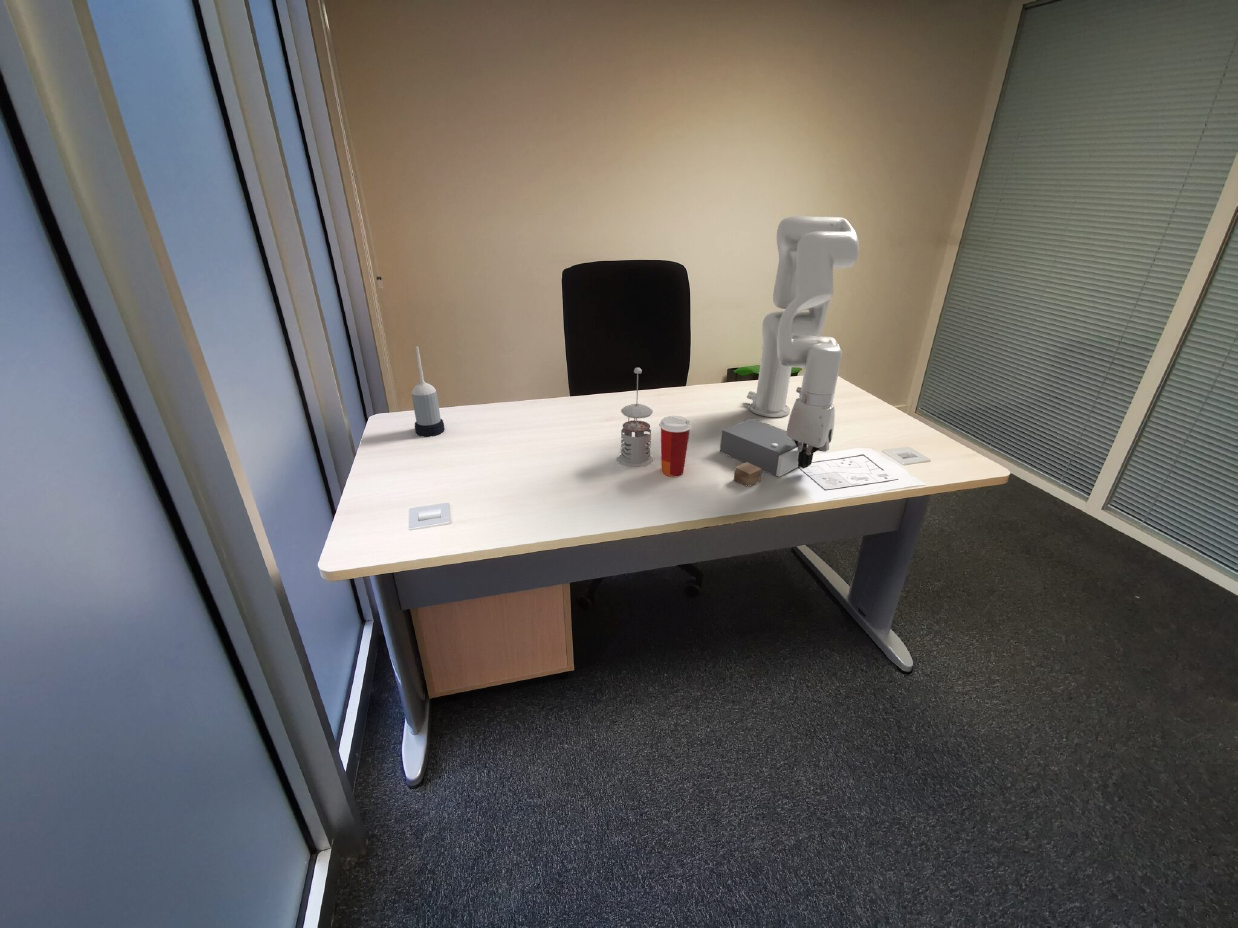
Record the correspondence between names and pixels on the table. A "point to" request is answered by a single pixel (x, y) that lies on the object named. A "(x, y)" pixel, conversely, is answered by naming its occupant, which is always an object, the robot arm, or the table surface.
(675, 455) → the paper cup
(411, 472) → the table surface
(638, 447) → the french press
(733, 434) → the player
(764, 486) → the table surface
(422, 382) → the grey bottle with nozzle
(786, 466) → the tray
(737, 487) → the table surface
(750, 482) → the brown wooden cube
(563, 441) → the table surface
